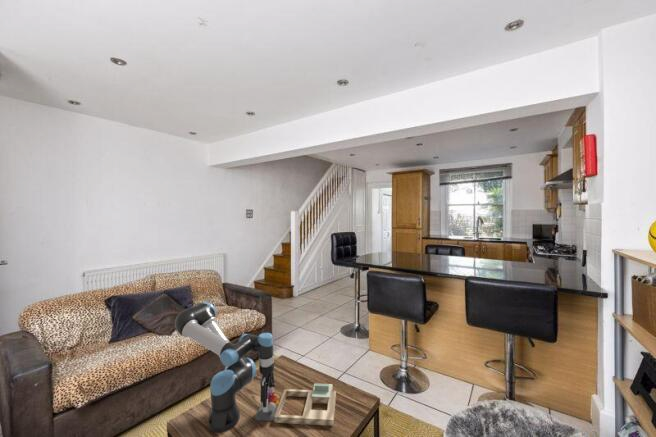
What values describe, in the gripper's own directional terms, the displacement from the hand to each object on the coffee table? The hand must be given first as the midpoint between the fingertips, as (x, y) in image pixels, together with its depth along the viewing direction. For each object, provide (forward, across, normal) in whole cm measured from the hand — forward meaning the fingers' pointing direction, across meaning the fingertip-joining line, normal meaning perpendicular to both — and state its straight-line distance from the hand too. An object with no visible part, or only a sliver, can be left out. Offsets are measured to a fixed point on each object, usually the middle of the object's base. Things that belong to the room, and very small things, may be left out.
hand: (268, 405), depth 146 cm
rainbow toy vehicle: (0, 0, -1) cm, 1 cm away
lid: (+1, +14, -27) cm, 30 cm away
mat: (+4, 0, 0) cm, 4 cm away
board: (+4, +7, -20) cm, 22 cm away
